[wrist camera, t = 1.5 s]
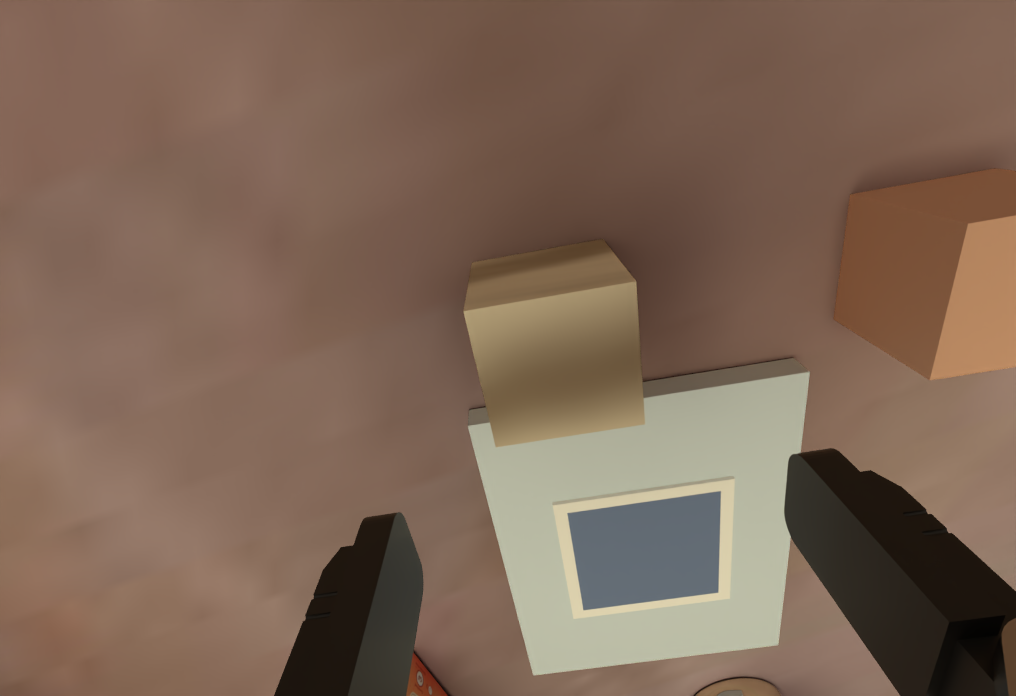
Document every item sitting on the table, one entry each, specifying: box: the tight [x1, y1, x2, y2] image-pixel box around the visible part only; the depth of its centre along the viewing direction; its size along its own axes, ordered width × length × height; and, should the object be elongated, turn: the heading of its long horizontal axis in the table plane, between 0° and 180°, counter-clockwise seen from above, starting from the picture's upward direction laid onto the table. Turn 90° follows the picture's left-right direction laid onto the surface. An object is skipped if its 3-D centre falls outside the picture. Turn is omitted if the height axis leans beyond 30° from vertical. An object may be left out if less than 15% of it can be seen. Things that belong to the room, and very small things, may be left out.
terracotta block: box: [834, 168, 1016, 380], centre depth 16 cm, size 5×5×5 cm
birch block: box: [463, 239, 645, 447], centre depth 17 cm, size 5×5×5 cm
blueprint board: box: [468, 358, 810, 675], centre depth 24 cm, size 18×14×1 cm
